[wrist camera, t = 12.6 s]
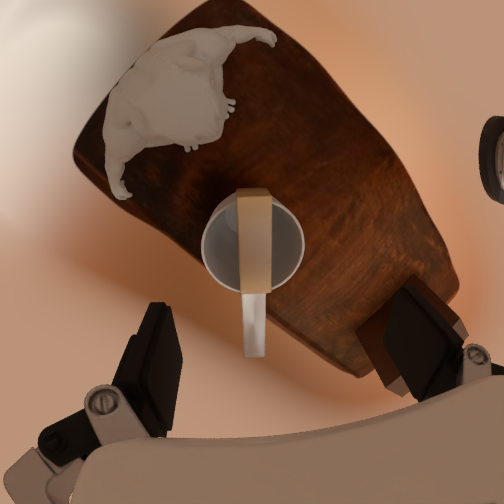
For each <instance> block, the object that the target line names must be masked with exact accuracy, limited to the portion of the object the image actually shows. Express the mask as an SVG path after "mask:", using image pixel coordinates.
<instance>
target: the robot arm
mask: <svg viewBox="0 0 504 504" xmlns="http://www.w3.org/2000/svg"><path fill="white" fill-rule="evenodd" d="M495 170H496V176H497V179H498V182H499V185H500V186H501V188H502V189H503V190H504V132H502V134H501V135H500V136H499V138H498V141H497V145H496V150H495ZM382 342H383V345H384V347H385V349H386V350H387V352H388V354H389V355H390V357H391V359H392V361H393V362H394V364H395V366H396V367H397V369H398V371H399V373H400V374H401V376H402V378H403V380H404V381H405V383H406V385H407V387H408V388H409V390H410V392H411V394H412V396H413V397H414V398H415V399H417V400H418V402H419V403H417V404H414V405H411V406H408V407H405V408H402V409H399V410H396V411H393V412H390V413H386V414H383V415H380V416H376V417H372V418H369V419H365V420H361V421H357V422H353V423H349V424H344V425H340V426H335V427H330V428H324V429H319V430H313V431H306V432H299V433H292V434H284V435H274V436H264V437H248V438H220V439H201V438H200V439H199V438H198V439H197V438H166V436H167V431H171V430H172V425H173V418H174V411H175V405H176V399H177V392H178V387H179V381H180V375H181V369H182V363H183V358H182V352H181V349H180V344H179V341H178V336H177V332H176V328H175V324H174V319H173V315H172V310H171V307H170V306H166V304H165V302H151V303H150V304H149V306H148V309H147V311H146V313H145V316H144V318H143V321H142V323H141V325H140V327H139V330H138V333H137V335H132V336H131V337H130V339H129V341H128V344H127V346H126V349H125V351H124V354H123V356H122V358H121V361H120V363H119V366H118V369H117V371H116V374H115V376H114V379H113V382H112V384H111V385H108V384H106V385H99V386H96V387H95V388H93V389H91V390H90V391H89V392H88V393H87V395H86V397H85V400H84V407H85V408H84V409H82V410H80V411H78V412H77V413H74V414H72V415H71V416H69V417H67V418H64V419H62V420H60V421H58V422H56V423H54V424H52V425H50V426H49V427H46V428H45V429H44V430H43V431H42V432H41V433H40V436H39V438H38V447H37V448H36V449H35V448H33V447H32V448H31V449H30V450H29V451H28V452H26V453H25V454H24V455H23V456H22V457H21V458H20V459H19V460H18V461H17V462H16V463H15V464H13V466H11V467H10V468H9V469H8V470H7V471H6V473H5V474H4V479H3V482H4V486H5V488H6V490H7V492H8V494H9V495H10V496H11V498H12V500H13V501H14V502H15V504H69V497H70V495H71V493H72V492H73V495H72V499H71V504H504V367H503V366H500V365H497V364H494V363H491V358H490V354H489V353H488V351H487V350H486V349H485V348H484V347H482V346H480V345H478V344H468V345H467V346H466V347H465V348H464V349H463V348H462V345H463V343H464V340H463V339H462V338H461V337H460V335H459V334H458V333H457V332H456V331H455V330H454V329H453V327H452V326H451V325H450V324H449V323H448V322H447V321H446V320H445V318H444V317H443V316H442V315H441V314H440V313H439V312H438V311H437V310H436V309H435V308H434V307H433V305H432V304H431V303H430V302H429V301H428V300H427V299H426V298H425V297H424V296H423V295H422V294H421V293H420V292H419V291H418V290H417V289H416V288H415V287H414V286H404V287H401V288H400V289H399V291H397V293H396V296H395V299H394V303H393V306H392V310H391V313H390V316H389V320H388V323H387V326H386V329H385V332H384V335H383V339H382ZM158 437H164V438H158ZM74 486H75V487H74Z"/></svg>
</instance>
